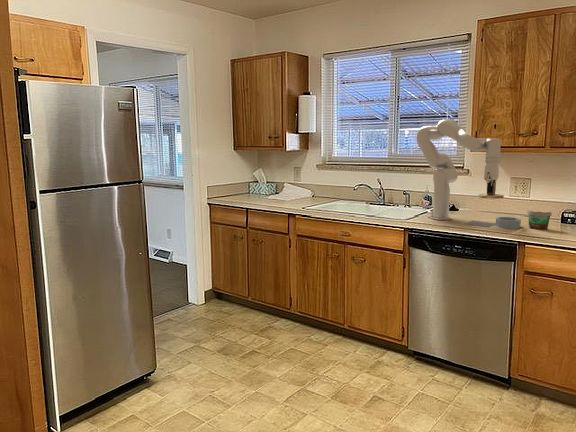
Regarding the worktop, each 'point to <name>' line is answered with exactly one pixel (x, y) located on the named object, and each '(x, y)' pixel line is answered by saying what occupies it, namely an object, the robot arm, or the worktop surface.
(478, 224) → the mat
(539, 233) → the worktop surface
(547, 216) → the food container
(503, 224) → the bowl
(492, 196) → the lid
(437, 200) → the robot arm
